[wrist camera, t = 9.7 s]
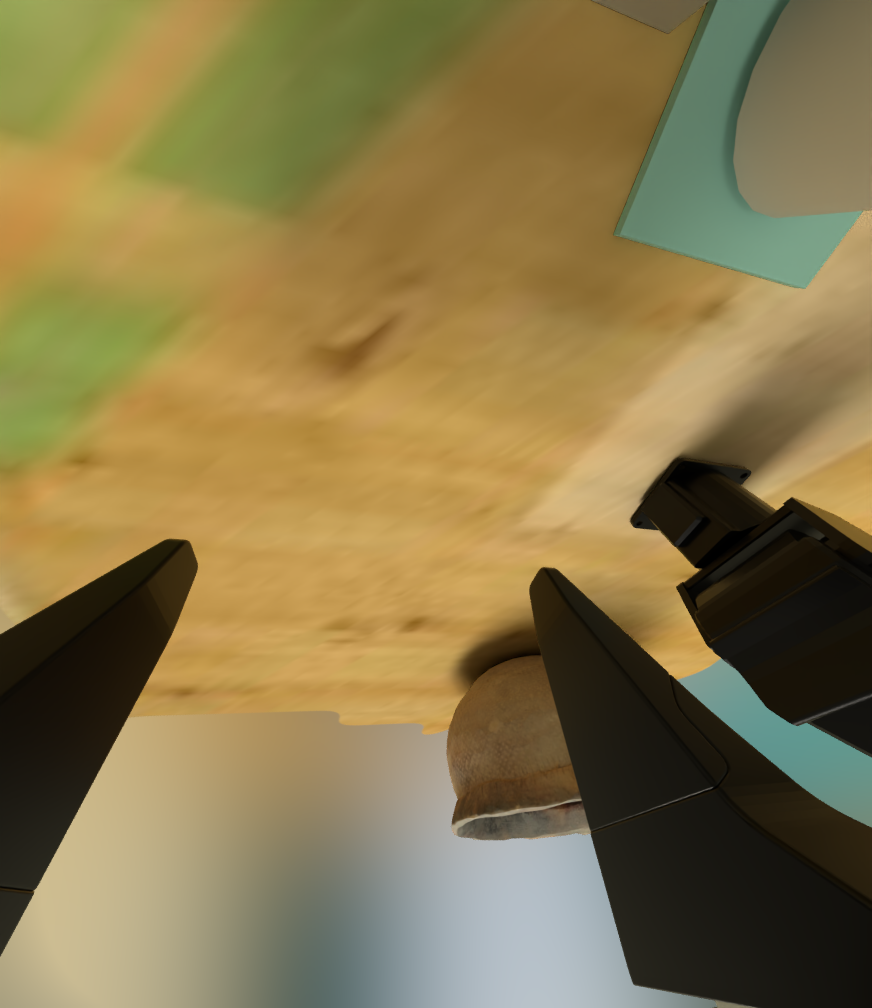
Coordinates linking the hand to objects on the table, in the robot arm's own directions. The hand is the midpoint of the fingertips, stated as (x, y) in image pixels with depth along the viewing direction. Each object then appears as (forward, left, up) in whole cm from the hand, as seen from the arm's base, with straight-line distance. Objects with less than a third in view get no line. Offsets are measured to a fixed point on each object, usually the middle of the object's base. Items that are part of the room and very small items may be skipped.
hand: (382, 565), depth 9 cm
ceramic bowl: (-21, +34, -13) cm, 42 cm away
